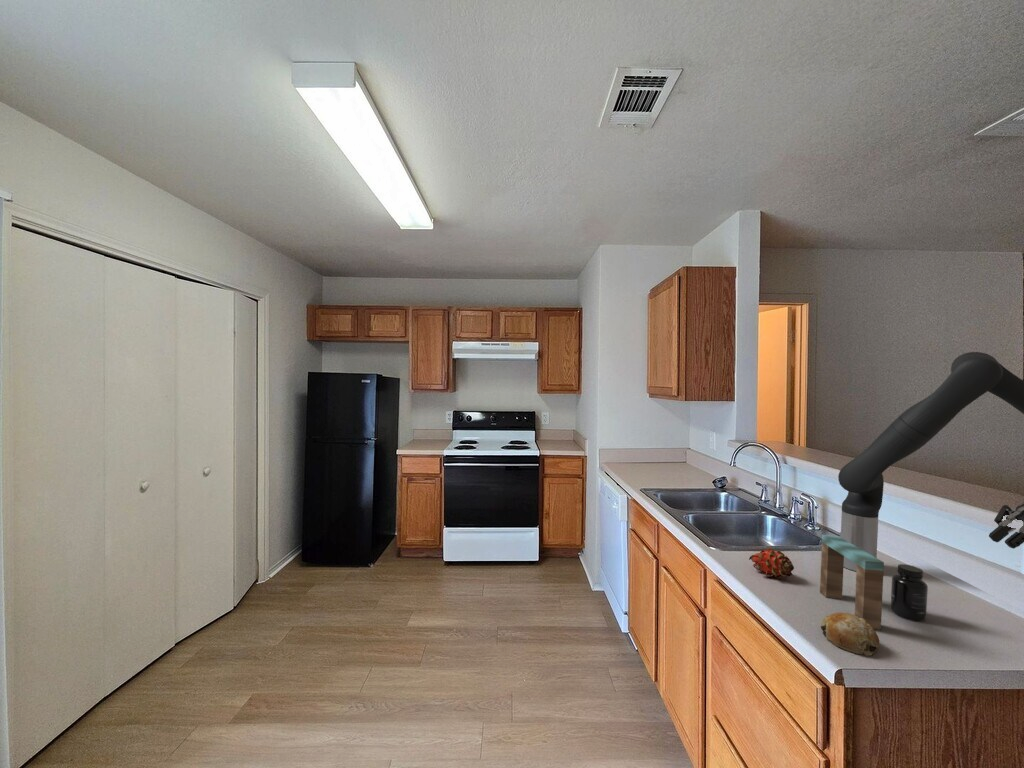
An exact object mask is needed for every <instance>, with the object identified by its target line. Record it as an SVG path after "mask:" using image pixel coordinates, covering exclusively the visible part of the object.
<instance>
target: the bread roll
mask: <svg viewBox="0 0 1024 768" xmlns="http://www.w3.org/2000/svg"><path fill="white" fill-rule="evenodd" d="M819 626H820V629H821V631H822V635H823V636H824V637H825V639H826V640H827V641H828V642H830V643H831V644H832V645H833V646H835V647H837V648H840V649H842V650H845V651H847V652H850V653H853V654H856V655H863V656H865V657H868V656H869V657H870V656H872V655H873V654H875V653H876V652H877V651H878V650H879V647H880V638H879V635H878V633H877V632H876V629H873V628H872V627H871V626H870V625H869V624H868V623H867V622H866V620H864V619H862V618H859V617H857V616H855V614H852V613H848V612H835V613H832V614H829V615H827V616H824V617H823V619H822V620H821V621H820V622H819Z"/></svg>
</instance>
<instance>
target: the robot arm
mask: <svg viewBox="0 0 1024 768" xmlns="http://www.w3.org/2000/svg"><path fill="white" fill-rule="evenodd" d="M950 372H951V373H950V374H949V375H948V376H947V378H946V379H945V380H944V381H943V383H942V384H940V385H939V386H938V387H937V389H936V390H934V391H933V392H932V393H931V394H930V395H928V396H927V397H925V398H923V399H922V400H920V401H918V402H916V403H914V404H913V405H912V406H910V407H908V408H907V409H906V410H904V412H903V411H902V413H901V414H900V415H898V417H897V418H896V419H894V420H893V421H892V422H891V423H890V424H889V425H888V426H887V427H886V429H884V430H883V431H882V433H880V434H879V435H878V436H877V438H875V439H874V441H872V443H871V444H870V445H869V446H868V447H867V448H866V449H865V450H863V452H861V453H860V454H858V455H857V456H856V457H855V458H854V459H851V460H850V461H849V462H847V463H846V464H845V465H843V466H842V467H841V469H840V470H839V473H838V475H837V477H838V482H839V483H838V484H839V485H840V486H841V487H842V488H843V490H845V491H848V492H847V495H846V498H845V499H844V500H842V503H841V517H840V518H841V521H840V522H841V523H840V524H841V525H840V532H839V537H841V538H842V539H844V540H846V541H848V542H849V543H851V544H853V545H855V546H856V547H858V548H860V549H862V550H863V551H865V552H867V553H868V554H870V555H872V556H874V557H875V558H877V557H878V537H879V536H878V534H879V513H880V509H881V507H882V505H883V495H884V484H885V481H884V475H883V473H884V472H885V471H886V470H887V469H889V468H890V467H891V466H893V465H894V464H896V463H897V462H899V461H902V460H903V459H905V458H907V457H908V456H910V455H912V454H914V453H915V452H917V451H918V450H920V449H921V448H922V447H924V446H925V445H926V444H927V443H928V442H929V441H931V440H932V439H933V438H934V437H935V436H936V435H937V434H939V432H940V431H942V430H943V429H944V428H945V427H947V425H948V424H949V423H950V422H952V420H953V419H954V418H955V417H956V416H957V415H958V414H959V413H960V412H961V411H962V410H964V409H965V408H966V407H968V406H969V405H971V404H972V403H973V402H974V401H976V400H977V399H979V398H980V397H981V396H983V395H985V394H986V393H987V392H988V393H991V394H992V395H994V396H995V397H998V398H1000V399H1001V400H1002V401H1004V402H1006V403H1007V404H1009V405H1011V406H1012V407H1013V408H1014V409H1015V410H1017V411H1019V412H1020V413H1021V414H1022V415H1024V380H1023V379H1021V378H1020V377H1019V376H1017V375H1016V374H1014V373H1012V372H1011V371H1010V370H1009V369H1007V368H1006V367H1005V366H1003V365H1002V364H1001V363H1000V362H999V361H998V360H997V359H996V358H995V357H993V356H992V355H990V354H988V353H984V352H982V351H981V352H980V351H971V352H966V353H963V354H960V355H959V356H956V358H955V359H954V360H953V362H952V363H951V366H950ZM1005 515H1009V516H1007V517H1006V520H1004V521H1003V520H1002V519H1003V516H1005ZM1016 519H1017V520H1022V521H1023V526H1022V527H1021V528H1020V529H1018V531H1015V530H1017V529H1016V528H1011V527H1009V525H1010V524H1012V521H1013V520H1015V521H1017V520H1016ZM993 521H994V523H996V525H998V526H997V527H996V528H994V530H992V531H990V533H989V534H988V537H989V538H990V540H992V541H993V542H995V543H999V542H1001V541H1002V540H1003V539H1004V538H1006V537H1007V536H1008V535H1010V533H1012V532H1013V531H1015V532H1013V533H1012V534H1011V535H1010V536H1008V537H1007V538H1006V539H1005V540H1004V543H1005V545H1007V547H1009V548H1010V549H1016V548H1019V547H1020V546H1021V545H1022V544H1024V503H1022V504H1020V505H1017V506H1016V507H1010V506H1009V505H1007V504H1004V505H1002V506H1001V508H1000V510H999V511H998V512H997V515H996V516H995V517H994V520H993ZM1008 524H1009V525H1008ZM1007 525H1008V526H1007ZM877 559H878V558H877ZM843 568H845V569H848V570H850V571H853V572H857V564H856V563H854V562H853V561H851V560H850V559H848V558H846V557H845V556H844V567H843Z"/></svg>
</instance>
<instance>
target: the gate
mask: <svg viewBox="0 0 1024 768" xmlns="http://www.w3.org/2000/svg"><path fill="white" fill-rule="evenodd" d="M844 556H845V557H846V558H848V559H850V560H851V561H853V562H854V563H856V564H857V571H856V576H855V577H856V578H855V601H854V615H855V616H857V617H859V618H862V619H864V620H866V622H867V623H868V624H869V625H870V626H871V627H872V628H873V629H874V630H877V631H878V630H882V613H883V612H882V609H883V591H884V567H885V562H884V561H882V560H880V559H879V558H875V557H874V556H872V555H870V554H868V553H867V552H865V551H863V550H862V549H860V548H858V547H856V546H855V545H853V544H851V543H849V542H848V541H846V540H844V539H842V538H841V537H840V535H829V534H822V535H821V557H820V558H821V559H820V560H821V561H820V582H819V593H820V594H821V595H822V596H824V597H825V598H827V599H837V598H838V599H839V600H843V587H844V586H843V585H844V568H845V567H844ZM838 599H837V600H838Z"/></svg>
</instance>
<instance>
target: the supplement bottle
mask: <svg viewBox="0 0 1024 768" xmlns="http://www.w3.org/2000/svg"><path fill="white" fill-rule="evenodd" d="M896 572H897V574H894V575H893V576H892V577H891V586H890V587H891V588H890V589H891V590H890V610H891V612H892V613H893V614H894V615H897V616H899V617H901V618H903V619H905V620H909V621H913V622H924V621H925V620H926V619H927V614H928V613H927V609H928V594H929V593H928V591H929V587H928V584H927V583H926V582H925V580H923V579H924V571H923V569H921V568H919V567H917V566H915V565H910V564H904V563H900V564H897V570H896Z"/></svg>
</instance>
